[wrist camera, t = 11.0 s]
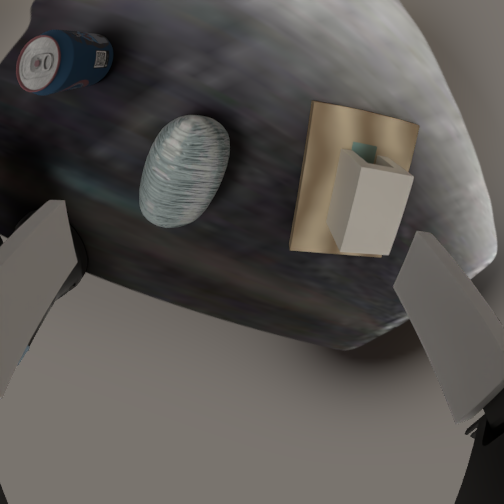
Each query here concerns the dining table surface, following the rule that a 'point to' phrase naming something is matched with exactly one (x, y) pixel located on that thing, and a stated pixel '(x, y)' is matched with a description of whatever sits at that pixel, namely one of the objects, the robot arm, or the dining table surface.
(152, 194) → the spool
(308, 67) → the dining table surface
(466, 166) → the dining table surface
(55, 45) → the soda can
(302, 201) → the wooden peg board
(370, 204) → the white block
